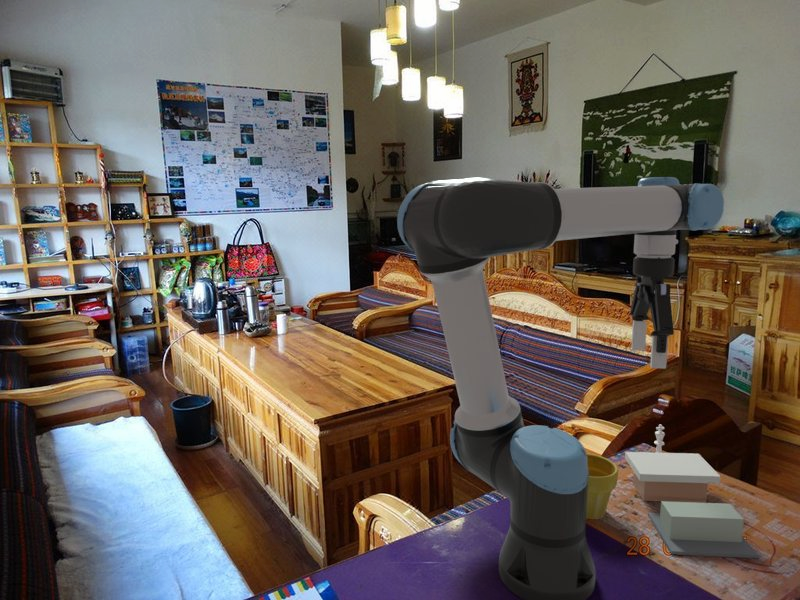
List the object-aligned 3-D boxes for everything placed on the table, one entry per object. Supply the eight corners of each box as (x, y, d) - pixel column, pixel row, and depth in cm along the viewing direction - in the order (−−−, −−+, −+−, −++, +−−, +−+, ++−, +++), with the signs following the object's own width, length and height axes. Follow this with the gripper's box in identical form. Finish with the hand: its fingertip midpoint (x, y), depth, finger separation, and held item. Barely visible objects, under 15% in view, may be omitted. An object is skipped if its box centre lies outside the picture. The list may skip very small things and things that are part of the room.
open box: (643, 500, 111) (644, 477, 111) (632, 483, 118) (634, 461, 117) (706, 502, 110) (708, 479, 109) (691, 485, 117) (693, 463, 116)
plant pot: (620, 505, 110) (623, 459, 108) (609, 531, 101) (611, 482, 100) (568, 492, 115) (569, 448, 114) (553, 515, 107) (554, 468, 105)
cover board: (639, 481, 109) (640, 474, 109) (625, 458, 119) (625, 451, 119) (719, 483, 108) (720, 476, 107) (698, 460, 117) (698, 453, 117)
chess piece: (641, 462, 128) (644, 421, 126) (661, 460, 128) (664, 419, 127) (653, 472, 123) (656, 429, 121) (674, 470, 124) (677, 428, 122)
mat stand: (671, 554, 94) (672, 527, 93) (647, 515, 106) (649, 491, 105) (758, 558, 93) (760, 531, 92) (724, 518, 105) (726, 493, 104)
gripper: (698, 262, 98) (689, 377, 102) (654, 251, 122) (648, 344, 126) (654, 262, 99) (646, 375, 103) (618, 251, 123) (613, 343, 127)
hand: (647, 358), depth 114 cm, fingers open, 13 cm apart
